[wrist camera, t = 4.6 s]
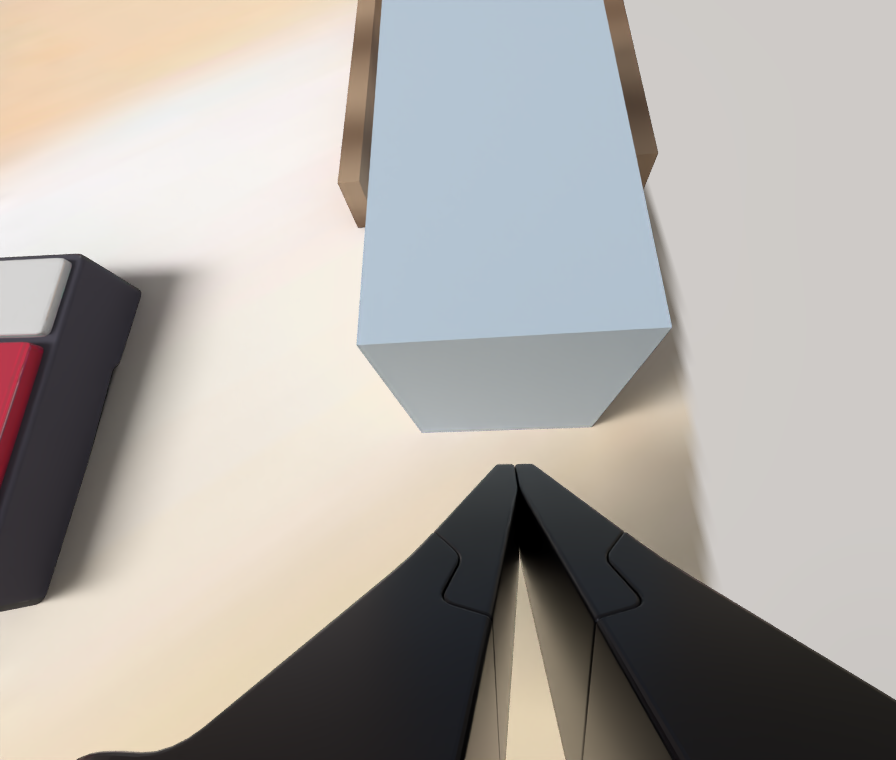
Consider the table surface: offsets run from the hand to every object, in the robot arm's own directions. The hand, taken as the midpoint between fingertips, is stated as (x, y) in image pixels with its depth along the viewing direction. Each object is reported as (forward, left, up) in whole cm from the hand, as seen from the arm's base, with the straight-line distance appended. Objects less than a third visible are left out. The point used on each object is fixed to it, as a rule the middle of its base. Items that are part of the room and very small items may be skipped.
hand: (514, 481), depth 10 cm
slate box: (+7, -8, -8) cm, 14 cm away
